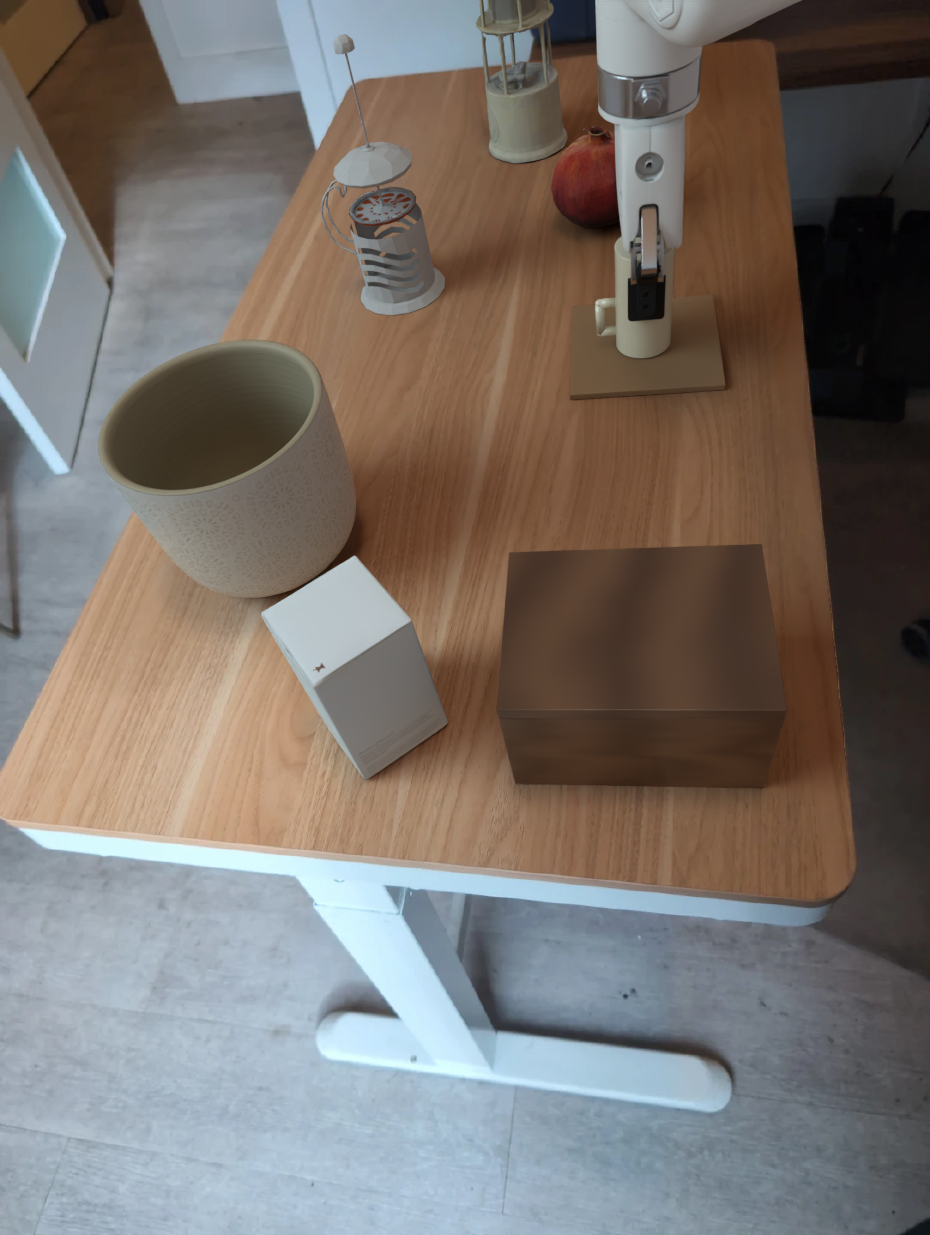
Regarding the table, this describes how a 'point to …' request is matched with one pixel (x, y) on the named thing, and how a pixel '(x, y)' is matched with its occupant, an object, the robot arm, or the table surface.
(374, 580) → the white packaging box
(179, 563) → the planter
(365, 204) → the french press
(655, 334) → the cream mug
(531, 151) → the lamp
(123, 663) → the table surface
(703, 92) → the table surface
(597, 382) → the mat
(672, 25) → the robot arm
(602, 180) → the fruit
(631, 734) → the brown lidded box
